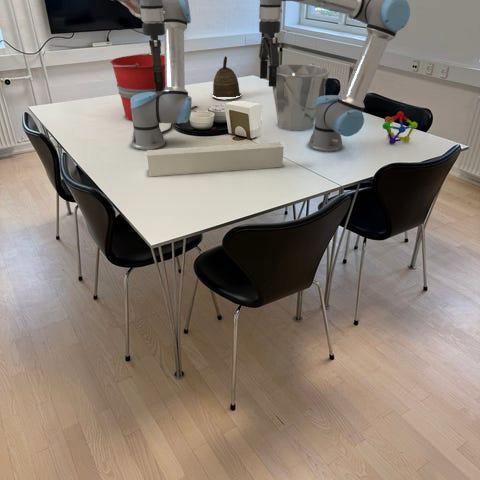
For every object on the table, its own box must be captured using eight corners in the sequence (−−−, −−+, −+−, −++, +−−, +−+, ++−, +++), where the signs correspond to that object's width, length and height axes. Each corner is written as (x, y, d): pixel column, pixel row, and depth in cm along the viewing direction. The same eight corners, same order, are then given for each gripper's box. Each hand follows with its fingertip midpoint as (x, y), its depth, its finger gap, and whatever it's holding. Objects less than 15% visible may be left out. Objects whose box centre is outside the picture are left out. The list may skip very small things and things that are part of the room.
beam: (149, 176, 176) (147, 155, 172) (149, 170, 181) (146, 150, 177) (282, 166, 185) (283, 146, 181) (278, 161, 190) (279, 141, 186)
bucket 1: (124, 106, 262) (117, 51, 246) (183, 106, 262) (180, 52, 246) (108, 124, 233) (99, 63, 217) (174, 124, 232) (170, 64, 216)
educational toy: (377, 146, 209) (379, 114, 202) (384, 138, 219) (386, 107, 211) (411, 149, 202) (415, 116, 195) (417, 141, 212) (420, 109, 204)
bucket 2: (296, 138, 215) (301, 78, 201) (255, 124, 234) (256, 68, 219) (335, 125, 232) (342, 70, 217) (294, 113, 251) (297, 61, 236)
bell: (227, 105, 294) (202, 96, 282) (238, 66, 289) (213, 55, 277) (243, 108, 280) (217, 98, 268) (255, 66, 275) (229, 55, 263)
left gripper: (166, 26, 141) (171, 94, 152) (162, 18, 162) (167, 78, 173) (142, 26, 140) (149, 95, 151) (141, 18, 160) (147, 79, 172)
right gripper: (290, 24, 148) (286, 89, 159) (271, 16, 168) (269, 74, 180) (268, 24, 146) (266, 90, 158) (252, 17, 167) (251, 75, 178)
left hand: (158, 86), depth 162 cm, fingers open, 13 cm apart
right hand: (267, 82), depth 169 cm, fingers open, 13 cm apart
